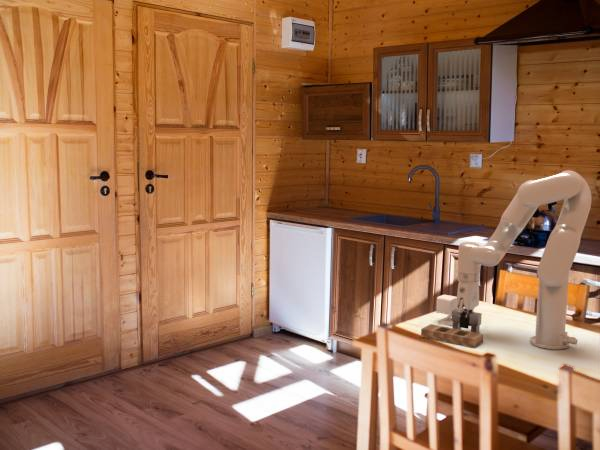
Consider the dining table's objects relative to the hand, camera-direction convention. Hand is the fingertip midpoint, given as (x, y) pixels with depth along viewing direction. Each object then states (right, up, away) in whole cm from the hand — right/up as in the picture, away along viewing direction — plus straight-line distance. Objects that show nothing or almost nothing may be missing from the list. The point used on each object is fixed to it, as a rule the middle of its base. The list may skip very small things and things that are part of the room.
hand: (466, 326), depth 250 cm
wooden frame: (-7, -4, -7) cm, 10 cm away
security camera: (-4, -1, +14) cm, 15 cm away
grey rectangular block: (0, -3, 0) cm, 3 cm away
